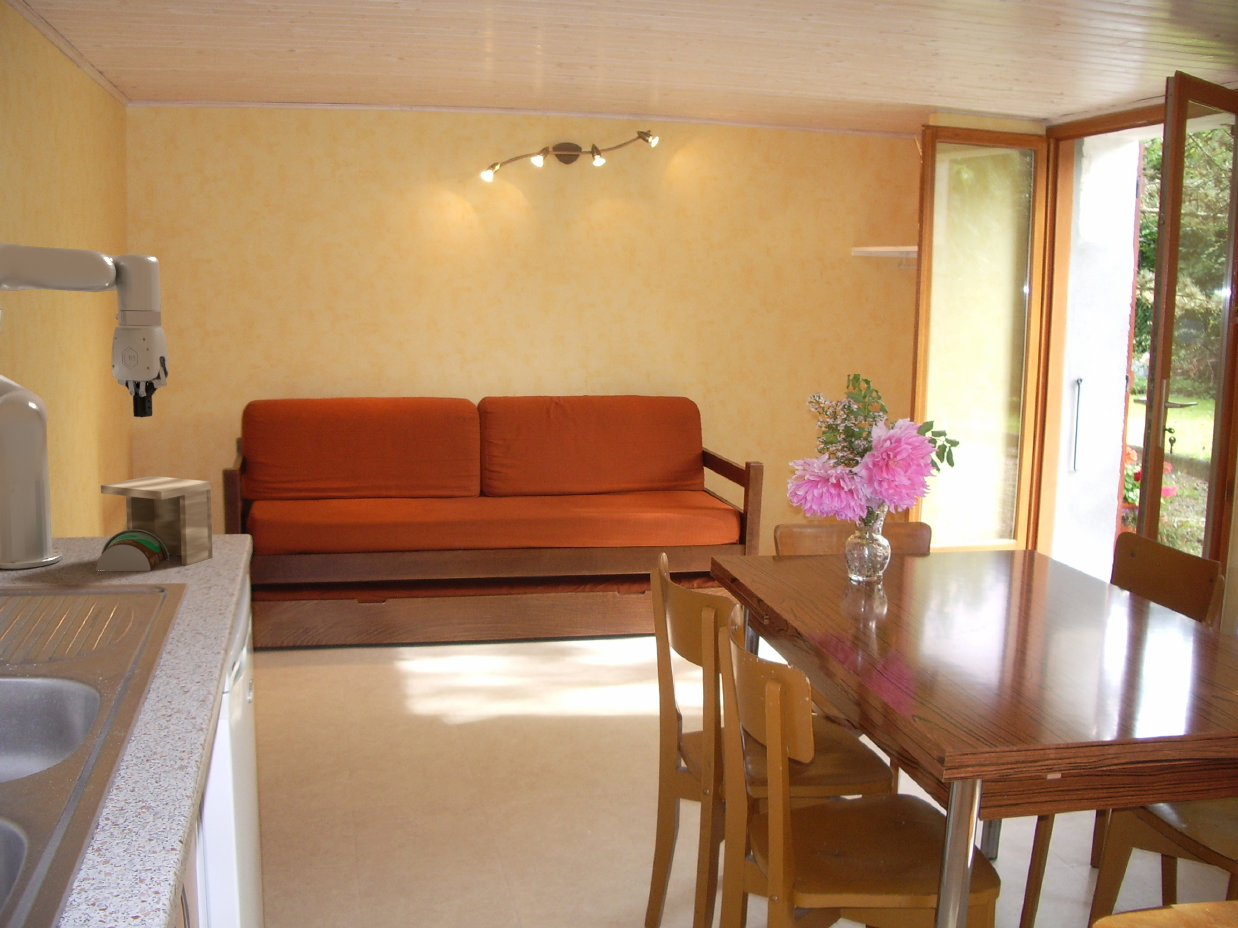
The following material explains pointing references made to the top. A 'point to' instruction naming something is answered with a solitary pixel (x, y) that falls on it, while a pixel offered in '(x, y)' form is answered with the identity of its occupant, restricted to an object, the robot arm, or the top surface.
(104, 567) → the food container
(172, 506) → the wooden stand
